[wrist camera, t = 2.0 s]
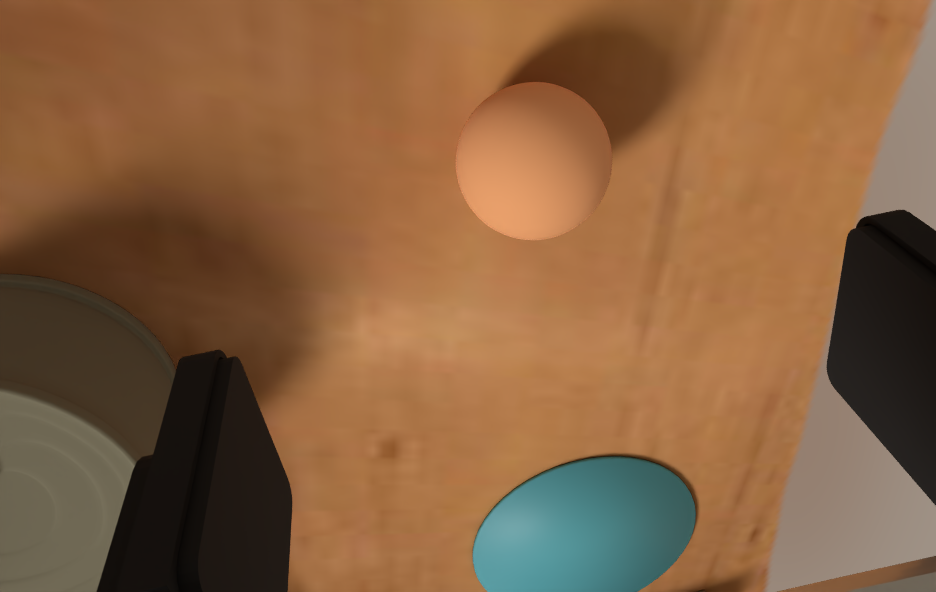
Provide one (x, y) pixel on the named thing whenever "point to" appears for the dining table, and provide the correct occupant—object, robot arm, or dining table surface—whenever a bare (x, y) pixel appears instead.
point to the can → (70, 428)
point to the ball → (534, 160)
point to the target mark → (586, 529)
